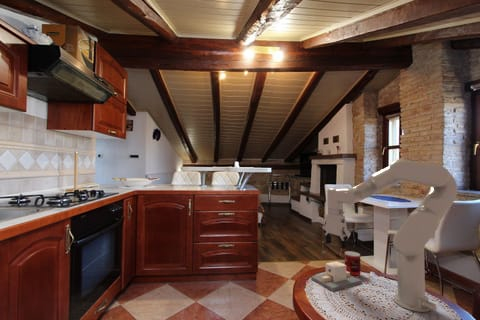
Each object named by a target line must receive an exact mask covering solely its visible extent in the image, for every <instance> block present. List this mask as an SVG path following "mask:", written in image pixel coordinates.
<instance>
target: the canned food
mask: <svg viewBox="0 0 480 320" xmlns="http://www.w3.org/2000/svg"><path fill="white" fill-rule="evenodd" d="M344 264H345V265H346V271H348V272H350V275H351V276H353V277H354V276H358V277H360V276H361V273H362V272H361V254H360V253H359V252H356V251H353V250H350V251H349V250H348V251H344Z"/></svg>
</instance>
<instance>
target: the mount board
mask: <svg viewBox="0 0 480 320" xmlns="http://www.w3.org/2000/svg"><path fill="white" fill-rule="evenodd" d="M310 277H311V278H310V279H311V280H312V281H314V282H315V283H316V284H319V285H320V286H322V287H324V288H325V289H327V290H329V291H331V292H336V291H339V290H343V289H347V288H350V287H353V285H354V286H357V284H358V285H360V283H361V284H362V283H363V282H362V279H360V278H358V277H354V276H351V275H350V272H348V271H346V280H342V281H338V282H334V281H333V276H331V275H328V276H326V272H324V273H320V274H316V275H315V274H314V275H312V276H310Z"/></svg>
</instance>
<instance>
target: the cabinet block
mask: <svg viewBox="0 0 480 320" xmlns="http://www.w3.org/2000/svg"><path fill="white" fill-rule="evenodd" d="M325 273H326V276H328V275H331V276H333V281H334V282H338V281H342V280H346V265H345V263H343V262H339V261H337V260H335V261H331V262H327V263H325Z"/></svg>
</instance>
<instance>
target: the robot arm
mask: <svg viewBox="0 0 480 320" xmlns="http://www.w3.org/2000/svg"><path fill="white" fill-rule="evenodd" d="M405 181H406V182H409V183H414V184H419V185H423V186H429V187H430V188H429V191H428V192H426V194H425V196H424V198H423V200H422V201H421V202H420V204H419V205H418V206H417V207H416V208H415V209H414V210H412V211H411V212H410V214H409V215H408V216H407V217H406V219H405V220H404V222H403V223H402V225H401V226H400V227H399V229H398V230H397V231H396V233H395V234H394V236H393V238H392V245H393V247H394V249H395V250H396V271H397V272H396V274H397V278H396V279H397V294H395V295H393V301H394V302H395V303H396V304H397V305H398V306H400V307H402V308H404V309H407V310H410V311H413V312H417V313H418V312H419V313H428V312H429V311H433V312H436V311H437V310H438V309H437V304H436V303H434V302H431V301H430V300H429V296H427V295H426V280H425V279H426V278H425V277H426V276H425V275H426V274H425V273H426V272H425V268H426V267H425V246H426V245H427V243H428V242H429V241H430V239H431V238H432V237H433V236H434V234H436V231H437V230H438V228H439V226H440V222H441V221H442V219H443V218H444V216H445V215H446V214H447V212H448V211H449V209H450V208H451V207H452V205H453V203H454V202H455V200H456V198H457V194H458V184H457V182H456V178H455V177H454V176H453V175H452V173H451V172H450V170H449V169H447V168H446V167H444V166H443V165H440V164H435V163H434V164H433V163H427V162H420V161H414V160H408V159H402V158H401V159H400V158H399V159H396V160H394V161H392V162H391V164H390V165H388V166H387V167H384V168H382V169H381V170H378V171H376V172H374V173H372V174H371V175H370V176H369V177H368V178H367V179H366V180H365V181H363V182H361V183H359V184H358V185H356V186H353V187H351V188H350V187H349V188H338V187H331V188H327V189H326V190H327V191H326V198H327V202H326V204H327V214H326V219H325V224H324V225H322V227H321V228H322V230H323V233H324V236H325V244H332V235H333V236H339V238H340V239H341V240H340V249H342V250H344V249H347V248H348V247H347V241H348V240H349V238H350V236H351V234H352V232H351V231H349V230H348V229H347V222H346V221H347V220H346V217H345V216H346V215H345V211H344V204H345V205H346V204H347V205H349V204H350V205H352V204H355V203H356V204H357V203H358V202H360V201H363V200H365V199H368V198H370V197H371V196H373V195H375V194H378V193H382V192H383V191H385V190H387V189H389V188H391V187H394V186H396V185H398V184H401V183H402V182H405Z"/></svg>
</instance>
